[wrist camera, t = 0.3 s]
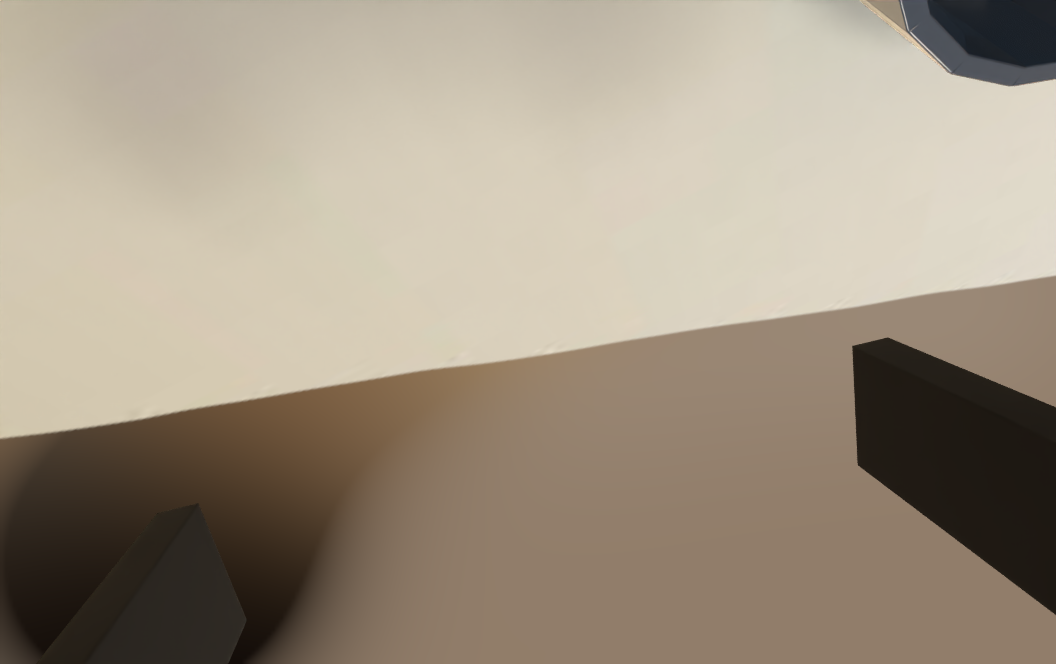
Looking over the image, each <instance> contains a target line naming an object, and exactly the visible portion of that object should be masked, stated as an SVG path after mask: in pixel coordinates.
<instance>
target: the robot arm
mask: <svg viewBox="0 0 1056 664" xmlns="http://www.w3.org/2000/svg"><path fill="white" fill-rule="evenodd" d="M852 348H853V371H854V393H855V415H856V436H857V460H858V466H860V467H861V468H862V469H864V470H865V471H866V472H868V473H869V474H870V475H872V476H873V477H874V478H876V479H877V480H878V481H880V482H881V483H882V484H883V485H885V486H886V487H887V488H889V489H890V490H891V491H893V492H894V493H895V494H897V495H898V496H900V497H901V498H902V499H903V500H905V501H906V502H907V503H909V504H910V505H911V506H913V507H914V508H915V509H917V510H918V511H919V512H920V513H922V514H923V515H924V516H926V517H927V518H928V519H930V520H931V521H933V522H934V523H935V524H936V525H938V526H939V527H941V528H942V529H943V530H945V531H946V532H947V533H948V534H950V535H951V536H952V537H954V538H955V539H956V540H957V541H959V542H960V543H962V544H963V545H964V546H965V547H967V548H968V549H970V550H971V551H972V552H973V553H975V554H976V555H977V556H979V557H980V558H981V559H983V560H984V561H985V562H987V563H988V564H989V565H991V566H992V567H993V568H995V569H996V570H997V571H998V572H1000V573H1001V574H1002V575H1004V576H1005V577H1006V578H1008V579H1009V580H1010V581H1012V582H1013V583H1014V584H1016V585H1017V586H1018V587H1020V588H1021V589H1022V590H1024V591H1025V592H1026V593H1028V594H1029V595H1030V596H1032V597H1033V598H1034V599H1036V600H1037V601H1038V602H1040V603H1041V604H1042V605H1044V606H1045V607H1046V608H1047V609H1049V610H1050V611H1051V612H1053V613H1054V614H1055V615H1056V407H1054V406H1051V405H1049V404H1046V403H1044V402H1041V401H1039V400H1037V399H1034V398H1032V397H1029V396H1027V395H1025V394H1022V393H1020V392H1017V391H1015V390H1013V389H1010V388H1008V387H1005V386H1003V385H1001V384H998V383H996V382H993V381H991V380H989V379H986V378H984V377H982V376H979V375H977V374H974V373H972V372H970V371H967V370H965V369H962V368H960V367H958V366H955V365H953V364H950V363H948V362H945V361H943V360H941V359H938V358H936V357H933V356H931V355H928V354H926V353H924V352H921V351H919V350H917V349H914V348H912V347H909V346H907V345H904V344H902V343H900V342H897V341H895V340H893V339H890V338H884V339H880V340H876V341H871V342H868V343H863V344H859V345H855V346H852ZM245 623H246V617H245V615H244V612H243V610H242V607H241V605H240V603H239V600H238V598H237V595H236V593H235V591H234V588H233V586H232V583H231V581H230V579H229V576H228V574H227V571H226V569H225V566H224V564H223V562H222V559H221V557H220V554H219V552H218V550H217V547H216V545H215V542H214V540H213V538H212V535H211V533H210V530H209V528H208V526H207V523H206V521H205V518H204V516H203V513H202V511H201V509H200V507H199V504H194V505H189V506H185V507H181V508H177V509H173V510H169V511H164V512H161V513H157V514H156V516H155V517H154V518H153V519H152V520H151V522H150V523H149V524H148V525H147V527H146V528H145V529H144V530H143V532H142V533H141V534H140V535H139V537H138V538H137V539H136V540H135V542H134V543H133V544H132V545H131V547H130V548H129V549H128V550H127V552H126V553H125V554H124V555H123V557H122V558H121V559H120V560H119V561H118V563H117V564H116V565H115V566H114V568H113V569H112V570H111V571H110V573H109V574H108V575H107V576H106V578H105V579H104V580H103V581H102V583H101V584H100V585H99V586H98V588H97V589H96V590H95V591H94V592H93V594H92V595H91V596H90V598H89V599H88V600H87V601H86V603H85V604H84V605H83V606H82V607H81V609H80V610H79V611H78V612H77V614H76V615H75V616H74V617H73V619H72V620H71V621H70V622H69V624H68V625H67V626H66V627H65V629H64V630H63V631H62V632H61V634H60V635H59V636H58V637H57V638H56V640H55V641H54V643H52V645H51V646H50V647H49V649H48V650H47V651H46V652H45V654H44V655H43V656H42V657H41V658H40V660H39V661H38V662H37V663H36V664H228V662H229V660H230V658H231V655H232V653H233V651H234V648H235V646H236V644H237V642H238V639H239V637H240V635H241V632H242V630H243V628H244V625H245Z"/></svg>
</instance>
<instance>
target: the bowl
mask: <svg viewBox="0 0 1056 664" xmlns="http://www.w3.org/2000/svg"><path fill="white" fill-rule="evenodd" d="M860 1H861V2H862V3H863V4H864V5H865V6H866V7H867V8H868V9H870V10H871V11H872V12H873V13H875V14H876V15H877V16H878V17H880V18H881V19H882V20H883V21H885V22H886V23H887V24H888V25H890V26H891V27H892V28H893V29H894V30H896V31H897V32H898V33H899V34H901V35H902V36H903V37H904V38H906V39H907V40H908V41H909V42H911V43H912V44H913V45H914V46H915V47H917V48H918V49H919V50H920V51H922V52H923V53H924V54H925V55H927V56H928V57H929V58H930V59H932V60H933V61H934V62H935V63H937V64H938V65H939V66H940V67H941V68H943V69H944V70H945V71H946V72H948V73H950V74H952V75H957V76H962V77H967V78H971V79H976V80H981V81H986V82H990V83H995V84H1000V85H1005V86H1019V85H1024V84H1030V83H1036V82H1042V81H1048V80H1054V79H1056V0H860Z"/></svg>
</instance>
